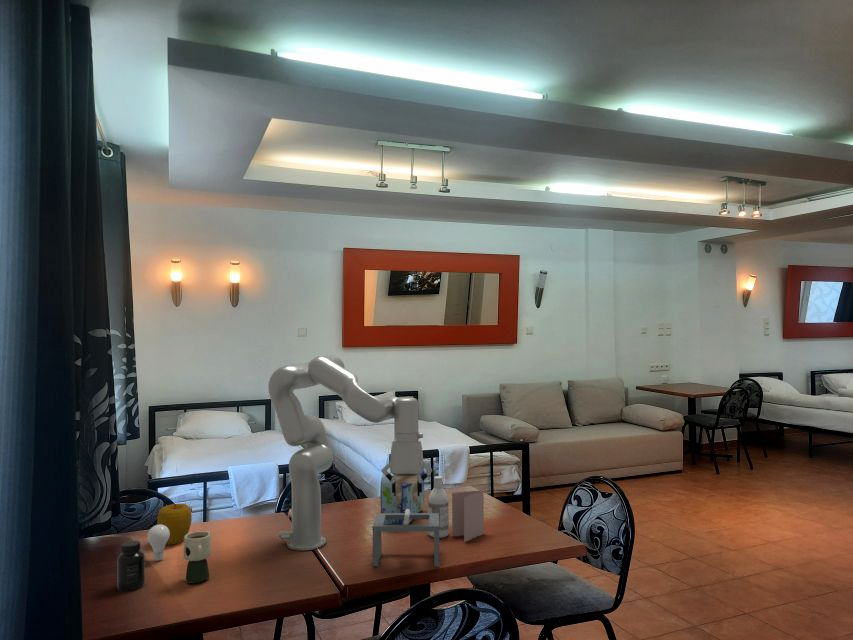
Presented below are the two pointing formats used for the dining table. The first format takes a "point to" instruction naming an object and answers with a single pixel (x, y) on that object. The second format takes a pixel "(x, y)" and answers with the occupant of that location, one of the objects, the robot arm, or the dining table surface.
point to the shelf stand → (380, 527)
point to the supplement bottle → (130, 567)
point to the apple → (175, 521)
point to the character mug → (197, 555)
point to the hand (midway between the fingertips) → (407, 494)
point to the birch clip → (406, 480)
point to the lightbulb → (158, 540)
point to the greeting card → (468, 514)
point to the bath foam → (439, 507)
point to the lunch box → (406, 502)
